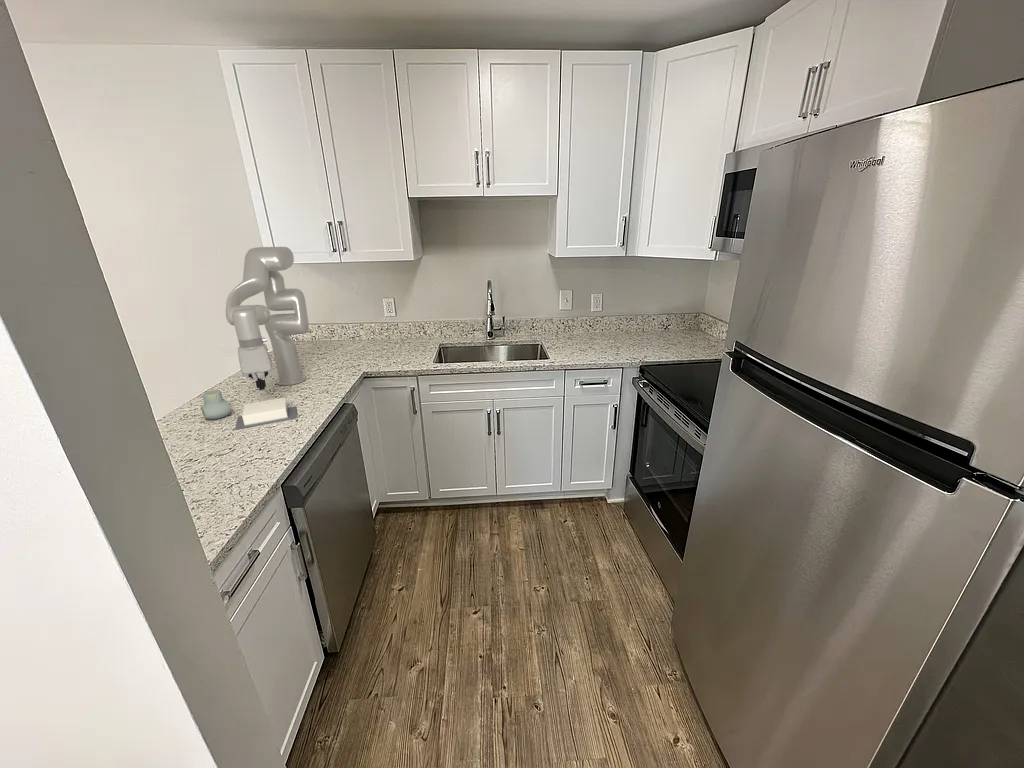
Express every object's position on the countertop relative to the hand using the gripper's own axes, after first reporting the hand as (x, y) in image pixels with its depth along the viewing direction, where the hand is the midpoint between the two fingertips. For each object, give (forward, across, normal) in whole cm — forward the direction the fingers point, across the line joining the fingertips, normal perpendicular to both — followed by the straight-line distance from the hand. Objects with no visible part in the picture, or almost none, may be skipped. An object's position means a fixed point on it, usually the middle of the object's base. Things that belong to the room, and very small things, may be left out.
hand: (262, 389), depth 162 cm
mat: (+10, 0, +6) cm, 12 cm away
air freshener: (+10, +17, -5) cm, 20 cm away
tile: (+7, 0, -1) cm, 7 cm away
